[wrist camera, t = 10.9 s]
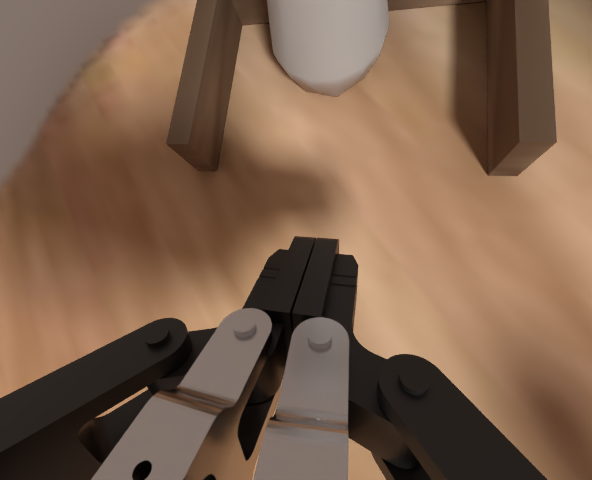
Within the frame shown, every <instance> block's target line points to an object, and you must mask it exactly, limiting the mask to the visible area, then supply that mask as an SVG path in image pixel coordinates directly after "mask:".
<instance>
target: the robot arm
mask: <svg viewBox="0 0 592 480" xmlns="http://www.w3.org/2000/svg"><path fill="white" fill-rule="evenodd" d="M357 277H358V264H357V262H356V260H355V258H354V257H353V255H344V254H339V239H327V238H317V239H316V238H312V237H298V236H295V237H294V239H293V241H292V243H291V246H290V248H289V250H282V249H279V250H278V251H276V252H275V253H274V254H273V255H271V256H270V257H269V258H268V260H267V262H266V264H265V266H264V270H262V272H261V274H260V276H259V278H258V280H257V281H256V283H255V285H254V287H253V289H252V291H251V293H250V295H249V297H248V299H247V301H246V303H245V305H244V307H243V308H242V309H240V310H237V311H235V312H233V313H231V314H229V315H228V316H227V317H225V318H224V319H223V321H222V322H221V323H220V325H219V326H218V327H217V328H212V329H205V330H198V331H190V332H188V331H187V328H186V326H185V324H184V323H183V322H182V321H181V320H178V319H175V318H164V319H159V320H156V321H153V322H151V323H149V324H147V325H145V326H143V327H141V328H139V329H137V330H135V331H133V332H131V333H129V334H127V335H125V336H123V337H121V338H119V339H117V340H115V341H113V342H111V343H109V344H107V345H105V346H103V347H101V348H99V349H97V350H95V351H93V352H92V353H90V354H88V355H86V356H84V357H82V358H80V359H78V360H76V361H74V362H72V363H70V364H68V365H66V366H64V367H62V368H60V369H58V370H56V371H54V372H52V373H50V374H48V375H46V376H44V377H42V378H40V379H38V380H36V381H34V382H32V383H30V384H28V385H26V386H24V387H22V388H20V389H18V390H16V391H14V392H12V393H10V394H8V395H6V396H4V397H2V398H0V480H252V478H253V471H254V467H255V463H256V460H257V457H258V455H259V458H258V462H257V467H256V471H255V476H254V480H348V437H349V438H350V439H352V440H353V441H355V442H357V443H358V444H360V445H362V446H363V447H365V448H366V449H368V450H370V451H371V453H372V456H373V458H374V460H375V461H376V463H377V465H378V466H379V468H380V470H381V471H382V473H383V475H384V476H385V478H386V480H547V479H546V478H545V477H544V476H543V475H542V474H541V473H540V472H539V471H538V470H537V469H536V468H535V467H534V466H533V465H532V463H531V462H530V461H529V460H528V459H527V458H526V457H525V456H524V455H523V454H522V453H521V452H520V451H519V450H518V449H517V448H516V447H515V446H514V445H513V444H512V443H511V442H510V441H509V440H508V439H507V438H506V437H505V436H504V435H503V434H502V433H501V432H500V431H499V430H498V429H497V428H496V427H495V426H494V425H493V424H492V423H491V422H490V421H489V420H488V419H487V418H486V417H485V416H484V415H483V414H482V413H481V412H480V411H479V410H478V409H477V408H476V407H475V405H474V404H473V403H472V402H471V401H470V400H469V399H468V398H467V397H466V396H465V395H464V394H463V393H462V392H461V391H460V390H459V389H458V388H457V387H456V386H455V385H454V384H453V383H452V382H451V381H450V380H449V379H448V378H447V377H446V376H445V375H444V374H443V373H442V372H441V371H440V370H439V369H438V368H437V367H436V366H435V365H434V364H432V363H431V362H429V361H427V360H426V359H424V358H421V357H419V356H415V355H410V354H400V355H395V356H392V357H390V358H389V359H385V358H383V357H380V356H378V355H376V354H374V353H372V352H370V351H368V350H367V349H365V348H364V347H363V346H362V345H361V344H360V343H359V342H358V341H357V340H356V338H355V336H354V334H353V326H354V316H355V306H356V294H357ZM283 375H284V376H283ZM282 379H283V380H282ZM281 382H282V385H281ZM146 386H147V387H148V390H147V391H145V392H143V393H142V394H140V395H138V396H137V397H135V398H133V399H132V400H130V401H128V402H127V403H125V404H124V405H122V406H120V407H119V408H117V409H115V410H114V411H112V412H110V413H109V414H107V415H105V416H102V417H98V418H95V417H97V416H98V415H100V414H102V413H103V412H105V411H107V410H108V409H110V408H112V407H113V406H115V405H117V404H118V403H120V402H121V401H123V400H125V399H126V398H128V397H130V396H131V395H133V394H135V393H136V392H138V391H140V390H141V389H143V388H145V387H146ZM277 403H278V404H277ZM276 406H277V409H276V412H275V415H274V416H273V414H274V411H275V408H276ZM259 452H260V454H259Z"/></svg>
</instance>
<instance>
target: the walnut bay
mask: <svg viewBox="0 0 592 480" xmlns="http://www.w3.org/2000/svg"><path fill="white" fill-rule="evenodd" d="M481 1H486V26H487V113H488V175H492V176H518V175H519V174H520V173H521V172H522V171H523V170H525V169H526V168H527V167H528V166H529V165H530V164H532V163H533V162H534V161H535V160H536V159H537V158H539V157H540V156H541V155H542V154H543V153H544V152H546V151H547V150H548V149H549V148H550V147H551V146H553V145H554V144H555V143H556V142H557V139H556V123H555V106H554V89H553V73H552V56H551V39H550V22H549V6H548V0H387V2H388V11H390V10H401V9H411V8H421V7H431V6H441V5H451V4H461V3H471V2H481ZM260 23H269V16H268V7H267V0H197V3H196V8H195V13H194V17H193V22H192V27H191V31H190V36H189V41H188V45H187V50H186V55H185V59H184V64H183V69H182V73H181V78H180V83H179V87H178V92H177V97H176V101H175V106H174V111H173V115H172V120H171V125H170V129H169V134H168V139H167V143H166V144H167V145H168V146H169V147H171V148H172V149H173V150H174V151H175V152H176V153H178V154H179V155H180V156H181V157H182V158H184V159H185V160H186V161H187V162H188V163H190V164H191V165H192V166H193V167H194V168H195V169H197V170H198V171H217V166H218V160H219V155H220V149H221V143H222V138H223V132H224V126H225V120H226V115H227V109H228V103H229V98H230V92H231V86H232V81H233V75H234V69H235V64H236V58H237V52H238V47H239V41H240V35H241V29H242V25H250V24H260Z"/></svg>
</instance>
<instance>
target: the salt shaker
mask: <svg viewBox="0 0 592 480" xmlns="http://www.w3.org/2000/svg"><path fill="white" fill-rule="evenodd" d="M267 7H268V16H269V25H270V33H271V40H272V48H273V54H274V55H275V57H276V59H277V61H278V62H279V64H280V65H281V66H282V67H283V69H284V70H285V71H286V73H287V74H288V75H289V77H290V78H292V79H293V80H294V81H295V82H296V83H297V84H298V85H299V86H300V87H302V88H303V89H304V90H305V91H306V92H311V93H317V94H322V95H328V96H333V97H338V96H339V95H340V94H342V93H343V92H345V91H346V90H348V89H349V88H351V87H352V86H353V85H355V84H356V83H358V82H359V81H361V80H362V79H363V78H364V77H365V76H366V75H367V73H368V72H369V70H370V69H371V67H372V66H373V64H374V63H375V61H376V60H377V58H378V57H379V56H380V52H381V49H382V46H383V43H384V40H385V37H386V33H387V30H388V27H389V13H388V2H387V0H267Z"/></svg>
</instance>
